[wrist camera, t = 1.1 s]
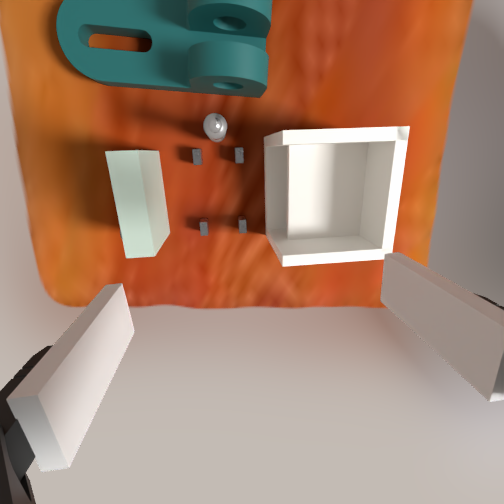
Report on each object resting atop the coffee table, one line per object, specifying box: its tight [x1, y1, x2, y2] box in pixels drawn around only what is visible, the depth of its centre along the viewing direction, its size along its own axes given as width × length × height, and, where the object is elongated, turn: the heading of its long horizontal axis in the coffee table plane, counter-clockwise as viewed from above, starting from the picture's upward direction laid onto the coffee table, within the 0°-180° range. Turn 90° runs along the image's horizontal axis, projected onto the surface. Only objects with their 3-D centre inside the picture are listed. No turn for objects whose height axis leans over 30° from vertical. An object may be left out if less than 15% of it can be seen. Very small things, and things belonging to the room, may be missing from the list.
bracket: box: [56, 0, 272, 98], centre depth 23 cm, size 18×7×8 cm, turn 87°
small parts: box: [192, 113, 247, 236], centre depth 27 cm, size 11×5×10 cm, turn 2°
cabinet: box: [264, 126, 410, 266], centre depth 28 cm, size 11×10×10 cm
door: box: [105, 150, 170, 258], centre depth 27 cm, size 9×4×8 cm, turn 2°
